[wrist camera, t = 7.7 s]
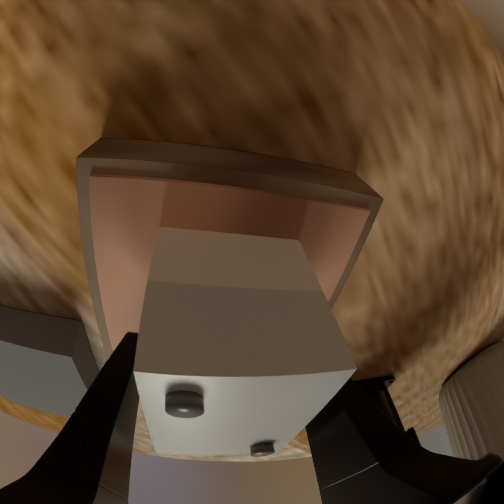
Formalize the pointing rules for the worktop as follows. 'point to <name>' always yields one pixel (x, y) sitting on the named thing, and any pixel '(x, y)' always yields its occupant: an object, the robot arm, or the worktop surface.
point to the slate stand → (44, 361)
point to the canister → (476, 405)
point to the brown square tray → (207, 214)
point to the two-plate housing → (234, 344)
